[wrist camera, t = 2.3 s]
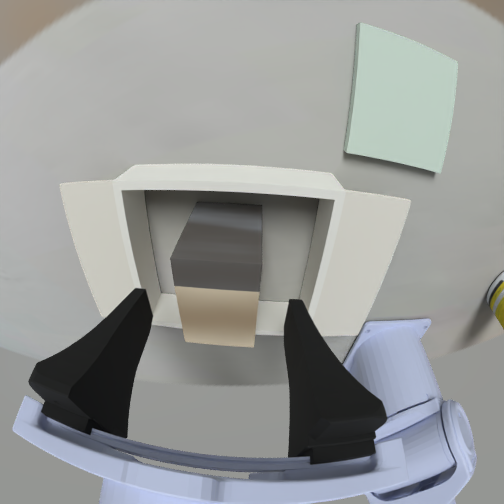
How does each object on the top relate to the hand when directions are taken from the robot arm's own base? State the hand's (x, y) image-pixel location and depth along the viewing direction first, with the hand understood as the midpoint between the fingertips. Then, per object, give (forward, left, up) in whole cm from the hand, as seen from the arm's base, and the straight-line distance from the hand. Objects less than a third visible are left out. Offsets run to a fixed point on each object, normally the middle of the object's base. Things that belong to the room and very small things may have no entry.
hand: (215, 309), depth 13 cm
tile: (+11, -10, -6) cm, 16 cm away
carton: (0, 0, -6) cm, 6 cm away
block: (0, 0, -6) cm, 6 cm away
